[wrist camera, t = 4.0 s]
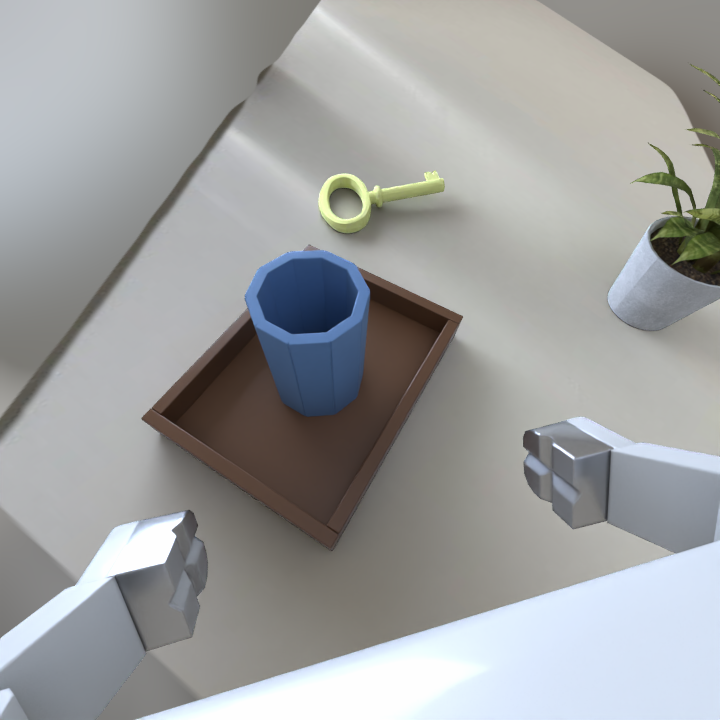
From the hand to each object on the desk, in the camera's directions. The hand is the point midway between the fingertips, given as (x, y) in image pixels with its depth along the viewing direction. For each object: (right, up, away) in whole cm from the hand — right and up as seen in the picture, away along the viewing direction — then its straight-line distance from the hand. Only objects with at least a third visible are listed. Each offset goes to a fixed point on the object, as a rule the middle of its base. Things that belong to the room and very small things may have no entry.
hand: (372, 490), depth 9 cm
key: (+1, +18, +28) cm, 33 cm away
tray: (-3, +2, +18) cm, 18 cm away
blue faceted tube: (-3, +2, +17) cm, 18 cm away
